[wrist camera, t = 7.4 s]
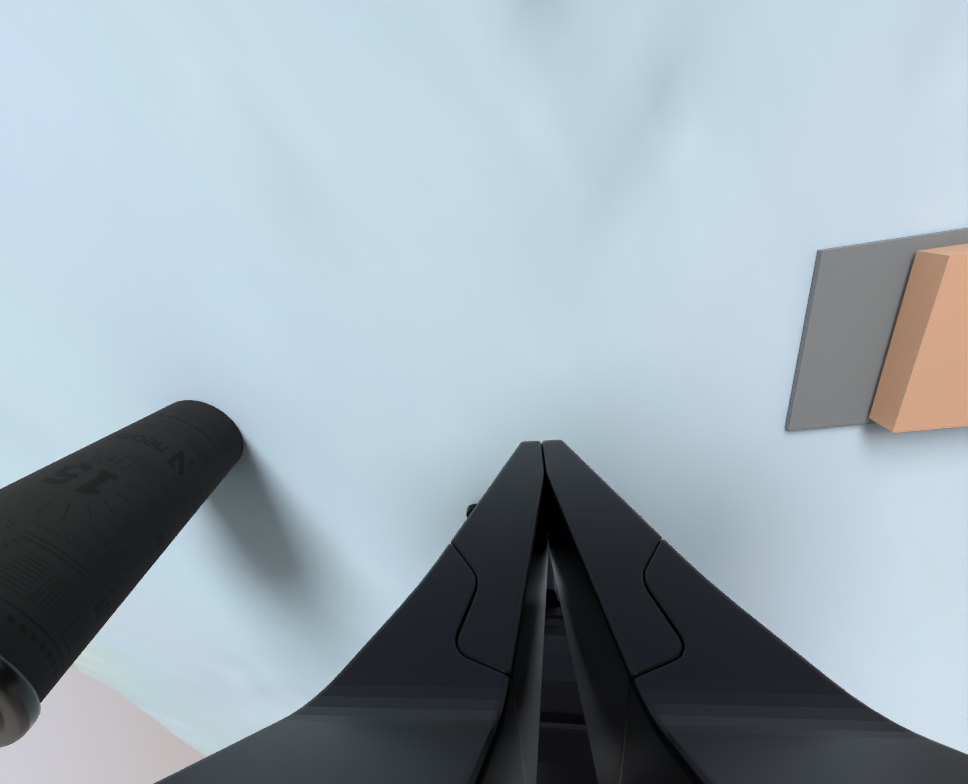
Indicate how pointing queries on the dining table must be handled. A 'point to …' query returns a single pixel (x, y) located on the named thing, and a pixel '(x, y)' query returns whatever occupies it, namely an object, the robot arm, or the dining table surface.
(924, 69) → the dining table surface
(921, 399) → the tile
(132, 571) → the drinking cup
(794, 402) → the mat
